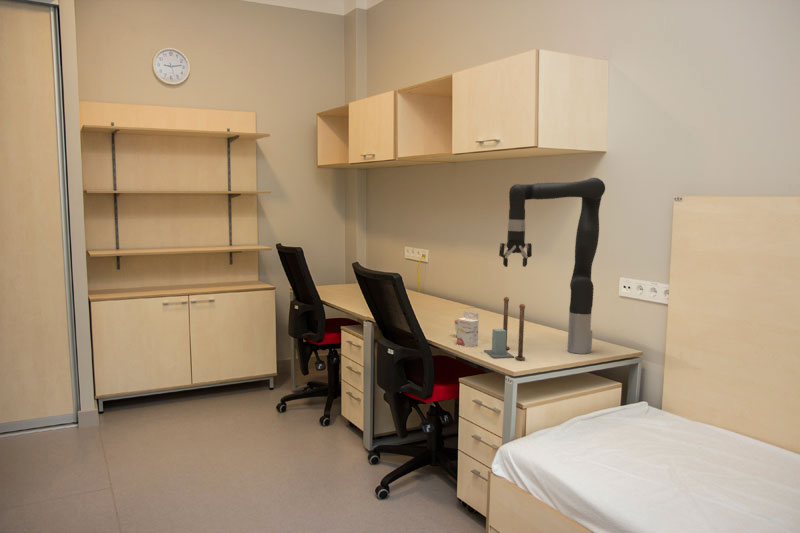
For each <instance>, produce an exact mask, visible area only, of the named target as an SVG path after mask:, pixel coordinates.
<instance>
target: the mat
mask: <svg viewBox="0 0 800 533" xmlns="http://www.w3.org/2000/svg"><path fill="white" fill-rule="evenodd" d="M483 352H484V353H485V354H487V355H488V356H489V357H491V358H492V359H515V356H514V355H513V354H511V353H510V352H508V350H506V354H500V355H495V354H494V353H492V349H483Z"/></svg>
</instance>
